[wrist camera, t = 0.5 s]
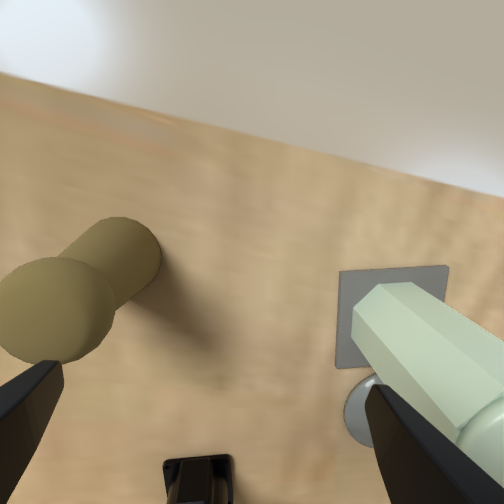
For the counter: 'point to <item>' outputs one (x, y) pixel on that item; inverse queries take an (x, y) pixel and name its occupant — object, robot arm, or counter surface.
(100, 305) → the cork
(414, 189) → the counter surface
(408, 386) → the mint green canister
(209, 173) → the counter surface
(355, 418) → the plate
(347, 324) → the mat
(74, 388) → the counter surface
